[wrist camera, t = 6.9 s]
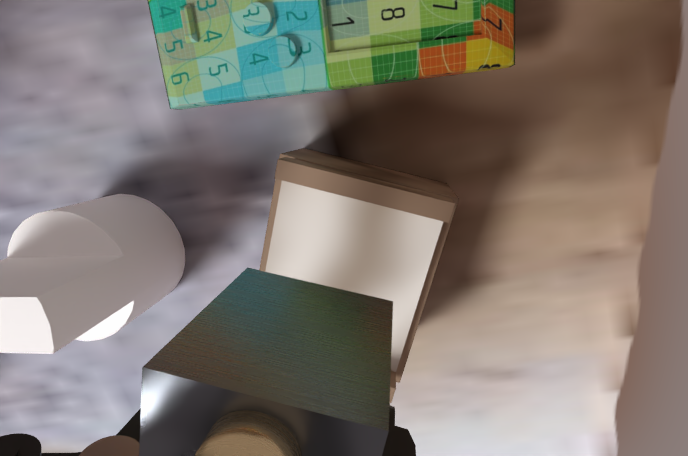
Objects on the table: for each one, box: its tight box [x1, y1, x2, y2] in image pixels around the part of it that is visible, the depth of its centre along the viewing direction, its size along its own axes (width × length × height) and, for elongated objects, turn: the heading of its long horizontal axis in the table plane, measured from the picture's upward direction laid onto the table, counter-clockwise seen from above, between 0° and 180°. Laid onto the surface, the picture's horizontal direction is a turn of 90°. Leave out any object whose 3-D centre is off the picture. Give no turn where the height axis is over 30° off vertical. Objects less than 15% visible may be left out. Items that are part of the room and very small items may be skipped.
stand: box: [260, 148, 459, 403], centre depth 24 cm, size 10×12×8 cm
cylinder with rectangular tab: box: [0, 194, 185, 354], centre depth 25 cm, size 9×9×12 cm
